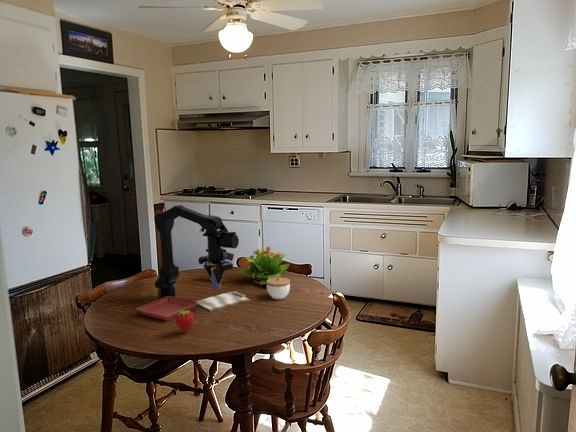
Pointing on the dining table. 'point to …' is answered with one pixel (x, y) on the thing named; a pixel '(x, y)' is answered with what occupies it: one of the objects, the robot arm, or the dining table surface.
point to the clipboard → (222, 301)
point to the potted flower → (264, 266)
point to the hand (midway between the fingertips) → (216, 282)
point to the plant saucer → (166, 307)
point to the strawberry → (185, 320)
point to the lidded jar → (278, 287)
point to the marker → (214, 280)
